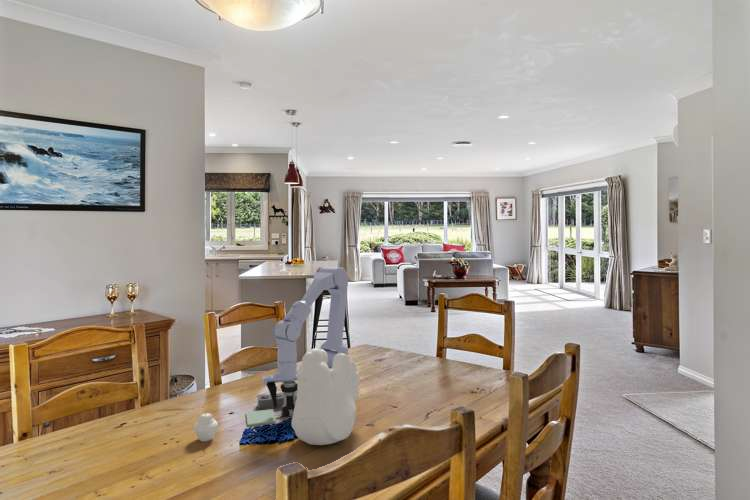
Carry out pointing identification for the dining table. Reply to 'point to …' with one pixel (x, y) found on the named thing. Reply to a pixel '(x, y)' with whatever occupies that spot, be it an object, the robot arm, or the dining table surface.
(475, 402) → the dining table surface
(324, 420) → the white rounded upright lump
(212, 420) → the grey rounded lump
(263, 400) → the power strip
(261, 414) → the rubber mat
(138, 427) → the dining table surface
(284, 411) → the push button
